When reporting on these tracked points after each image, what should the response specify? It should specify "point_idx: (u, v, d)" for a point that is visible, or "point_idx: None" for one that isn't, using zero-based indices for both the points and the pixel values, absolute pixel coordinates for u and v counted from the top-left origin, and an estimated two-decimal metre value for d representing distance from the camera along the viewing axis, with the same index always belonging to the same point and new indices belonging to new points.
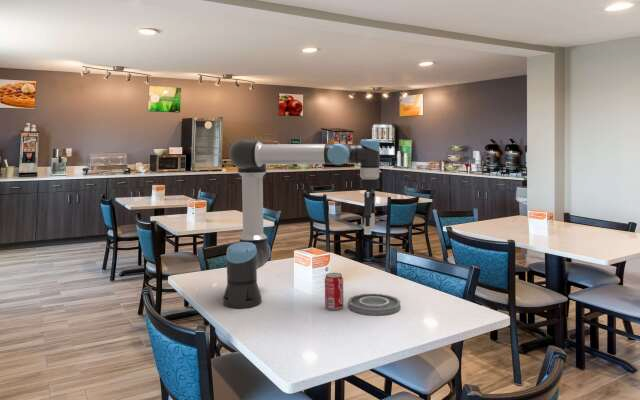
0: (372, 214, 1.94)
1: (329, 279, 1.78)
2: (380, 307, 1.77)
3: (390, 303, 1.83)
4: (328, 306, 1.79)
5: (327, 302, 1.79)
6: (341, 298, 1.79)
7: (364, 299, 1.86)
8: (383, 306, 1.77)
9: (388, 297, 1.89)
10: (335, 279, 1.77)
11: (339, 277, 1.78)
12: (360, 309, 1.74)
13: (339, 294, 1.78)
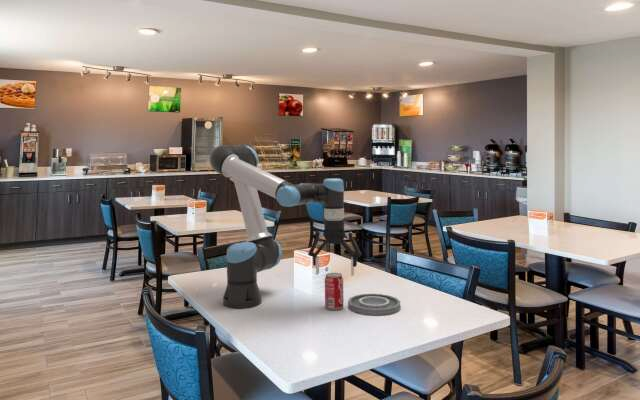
0: (351, 259, 1.78)
1: (329, 279, 1.78)
2: (380, 307, 1.77)
3: (390, 303, 1.83)
4: (328, 306, 1.79)
5: (327, 302, 1.79)
6: (341, 298, 1.79)
7: (364, 299, 1.86)
8: (383, 306, 1.77)
9: (388, 297, 1.89)
10: (335, 279, 1.77)
11: (339, 277, 1.78)
12: (360, 309, 1.74)
13: (339, 294, 1.78)
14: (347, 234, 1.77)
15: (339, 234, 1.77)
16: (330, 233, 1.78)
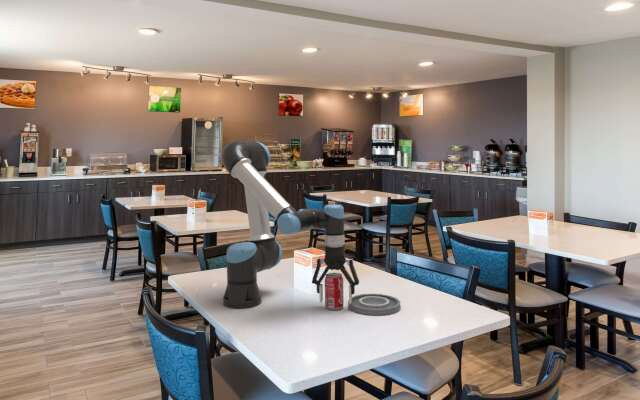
0: (349, 287, 1.79)
1: (329, 279, 1.78)
2: (380, 307, 1.77)
3: (390, 303, 1.83)
4: (328, 306, 1.79)
5: (327, 302, 1.79)
6: (341, 298, 1.79)
7: (364, 299, 1.86)
8: (383, 306, 1.77)
9: (388, 297, 1.89)
10: (335, 279, 1.77)
11: (339, 277, 1.78)
12: (360, 309, 1.74)
13: (339, 294, 1.78)
14: (348, 261, 1.78)
15: (340, 260, 1.78)
16: (330, 258, 1.79)
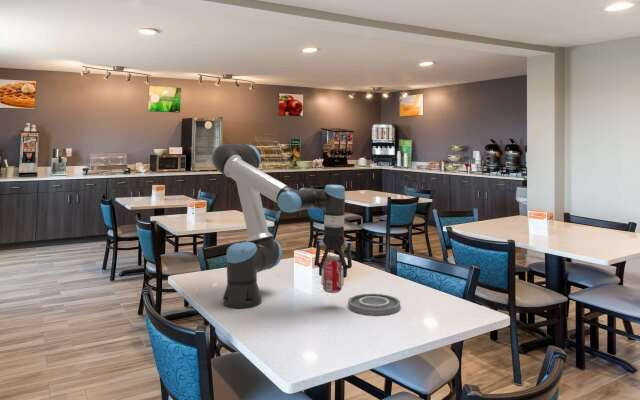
0: None
1: (328, 262, 1.77)
2: (380, 307, 1.77)
3: (390, 303, 1.83)
4: (326, 289, 1.79)
5: (325, 285, 1.79)
6: (339, 281, 1.79)
7: (364, 299, 1.86)
8: (383, 306, 1.77)
9: (388, 297, 1.89)
10: (334, 262, 1.77)
11: (338, 260, 1.78)
12: (360, 309, 1.74)
13: (337, 277, 1.78)
14: (346, 243, 1.78)
15: (339, 240, 1.78)
16: (329, 238, 1.78)
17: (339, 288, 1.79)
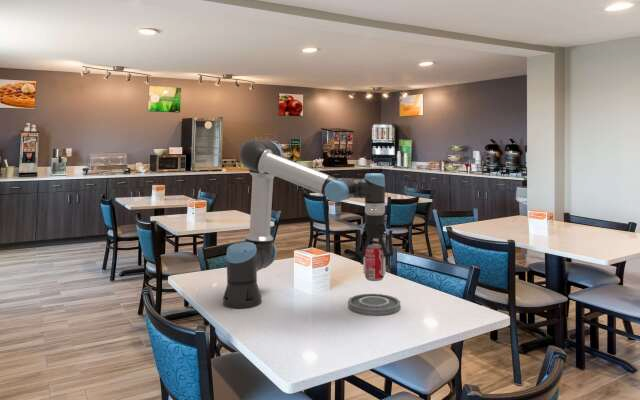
0: None
1: (370, 250, 1.77)
2: (380, 307, 1.77)
3: (390, 303, 1.83)
4: (368, 277, 1.79)
5: (367, 273, 1.79)
6: (382, 269, 1.79)
7: (364, 299, 1.86)
8: (383, 306, 1.77)
9: (388, 297, 1.89)
10: (376, 250, 1.77)
11: (380, 248, 1.78)
12: (360, 309, 1.74)
13: (380, 265, 1.78)
14: (387, 231, 1.78)
15: (380, 228, 1.78)
16: (370, 226, 1.79)
17: (382, 276, 1.79)
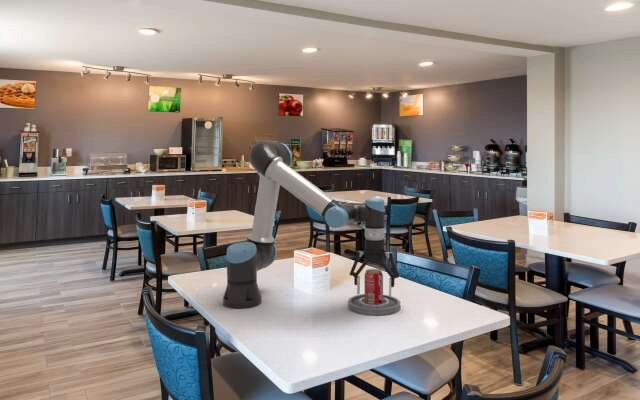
0: (389, 279, 1.80)
1: (370, 275, 1.78)
2: (380, 307, 1.77)
3: (390, 303, 1.83)
4: (368, 302, 1.80)
5: (367, 298, 1.80)
6: (381, 294, 1.80)
7: (364, 299, 1.86)
8: (383, 306, 1.77)
9: (388, 297, 1.89)
10: (375, 275, 1.78)
11: (379, 273, 1.79)
12: (360, 309, 1.74)
13: (379, 290, 1.79)
14: (387, 254, 1.79)
15: (379, 253, 1.79)
16: (370, 252, 1.80)
17: (381, 301, 1.80)
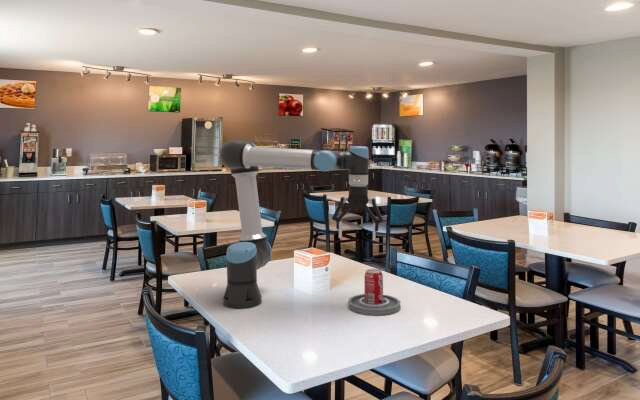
0: None
1: (370, 275, 1.78)
2: (380, 307, 1.77)
3: (390, 303, 1.83)
4: (368, 302, 1.80)
5: (367, 298, 1.80)
6: (381, 294, 1.80)
7: (364, 299, 1.86)
8: (383, 306, 1.77)
9: (388, 297, 1.89)
10: (375, 275, 1.78)
11: (379, 273, 1.79)
12: (360, 309, 1.74)
13: (379, 290, 1.79)
14: (370, 200, 1.85)
15: (363, 200, 1.85)
16: (354, 198, 1.86)
17: (381, 301, 1.80)
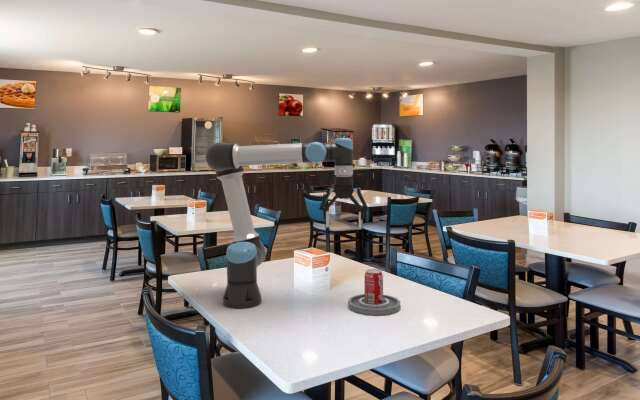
0: (359, 213, 1.93)
1: (370, 275, 1.78)
2: (380, 307, 1.77)
3: (390, 303, 1.83)
4: (368, 302, 1.80)
5: (367, 298, 1.80)
6: (381, 294, 1.80)
7: (364, 299, 1.86)
8: (383, 306, 1.77)
9: (388, 297, 1.89)
10: (375, 275, 1.78)
11: (379, 273, 1.79)
12: (360, 309, 1.74)
13: (379, 290, 1.79)
14: (355, 190, 1.92)
15: (348, 189, 1.92)
16: (340, 189, 1.93)
17: (381, 301, 1.80)
